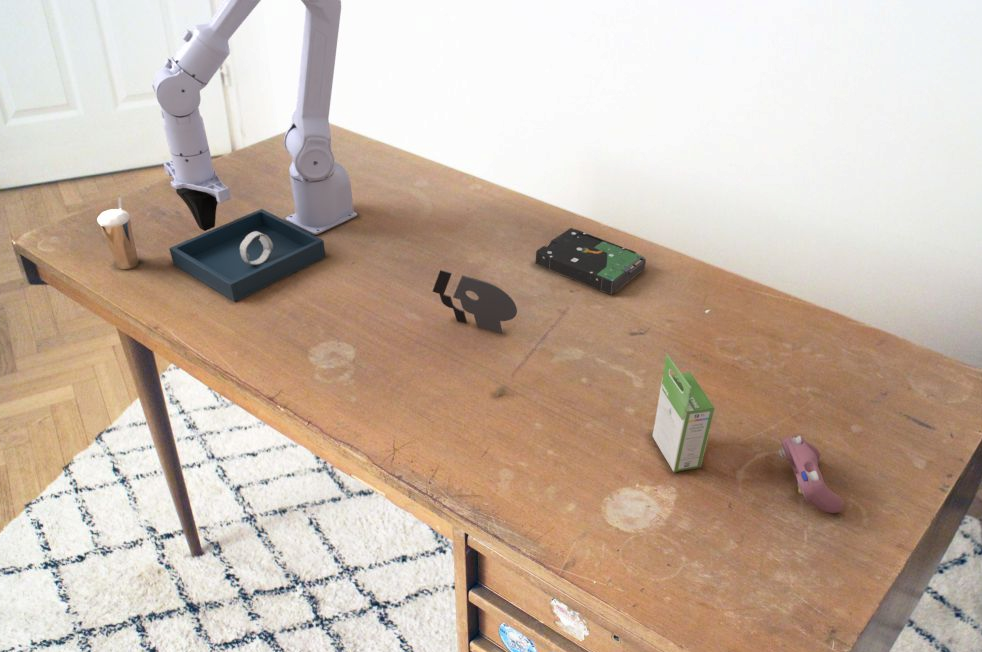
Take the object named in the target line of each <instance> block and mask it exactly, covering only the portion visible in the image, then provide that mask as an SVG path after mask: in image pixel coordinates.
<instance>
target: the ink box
mask: <svg viewBox="0 0 982 652" xmlns="http://www.w3.org/2000/svg"><path fill="white" fill-rule="evenodd" d="M671 372H673V373H674V374H671ZM715 410H716V407H715V405H714V404H713V403H712V401H711V400H710V399H709V397H708V396H707V394H706V393H705V391H704V389H703V388H702V387H701V386H700V383H699V382H698V380H696V378H695V376H694V375H693V373H692V372H691V371H690V372H689V371H688V372H681V371H680V370H679V368H678V367H677V365H676V364H675V363H674V361H673V359H672V358H671V357H670V356H669V354H668V353H665V358H664V365H663V372H662V378H661V383H660V390H659V394H658V402H657V407H656V414H655V419H654V426H653V431H652V439H653V440H654V441H655V443H656V445H657V446H658V448H659V451H660V452H661V454H662V455H663V457H664V458H665V460H666V462H667V463H668V465H669V467H670V469H671V470H672V472H673V473H677V472H681V471H686V470H695V469H699V468H702V464H703V462H704V461H703V459H704V455H705V452H706V447H707V444H708V439H709V435H710V431H711V426H712V422H713V418H714V414H715Z"/></svg>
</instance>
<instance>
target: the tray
mask: <svg viewBox="0 0 982 652" xmlns="http://www.w3.org/2000/svg"><path fill="white" fill-rule="evenodd" d="M255 231H258V232H260V233H262V234H264V235H267V236H268V237H269V238H270V239H271V241H272V243H273V249H272V252H270V253H269V254H270V255H269V257H268V259H267V260H266V261H265V262H264V263H262V264H260V265H251V264H249V263H246V262H244V261H243V259H242V257H241V254H240V245H241V243H242V241H243V240H244V239H245V237H246V236H247V235H248V234H250V233H252V232H255ZM259 239H260V235H259V236H257V237H255V238H254V239H253V240H252V241H251V243H250V244H249V245H248V247H247V254H248V255H249V259H248V260H249V261H255V260H257V259H258V258H260V256H261V255H262V253H263V251H264V250H263V245H262V243H261V241H259ZM324 241H325V240H323V239H322V238H320V237H318V236H317V235H314V234H312V233H310V232H308V231H306V230H304V229H302V228H300V227H298V226H296V225H294V224H292V223H290V222H288V221H286V219H283V218H281V217H279V216H278V215H275V214H273V213H272V212H270V211H267V210H265V209H264V208H260V209H258V210H255V211H253V212H250V213H247V214H246V215H244V216H241V217H239V218H236V219H234V220H231V221H230V222H227V223H225V224H222V225H220V226H218V227H216V228H215V227H214V228H212V229H210V230H207V231H205V232H203V233H201V234H199V235H196V236H194V237H192V238H189V239H187V240H185V241H183V242H179V243H178V244H176V245H173V246H171V247H169V253H170V256H171V257H170V258H171V260H172V265H173V266H174V267H176V268H178V269H179V270H181V271H182V272H184V273H186V274H187V275H189V276H190V277H193V278H194V279H196V280H197V281H199V282H200V283H202V284H205V286H207V287H209V288H211V289H212V290H214V291H215V292H217V293H218V294H220V295H222V296H224V297H225V298H227V299H229V300H230V301H232V302H234V303H236V302H237V301H241V300H242V299H244V298H246V297H248V296H250V295H252V294H254V293H256V292H258V291H260V290H262V289H264V288H266V287H268V286H270V285H272V284H274V283H276V282H278V281H280V280H282V279H284V278H286V277H288V276H290V275H292V274H295V273H297V272H299V271H300V270H303V269H304V268H307V267H309V266H310V265H312V264H315V263H316V262H319V261H321V260H323V259H325V258H327V255H326V249H325V248H326V247H325V242H324ZM265 249H266V248H265Z"/></svg>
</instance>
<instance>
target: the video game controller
mask: <svg viewBox="0 0 982 652" xmlns="http://www.w3.org/2000/svg"><path fill="white" fill-rule="evenodd" d="M780 441H781V447H782V448H781V449H779V450H778V454H779V457H780V458H781V459H782V460H784V459H786V460H787V461H789V464H790V466H791V469H792V470H793V474H794V476H795V479H796V480H797V486H798V488H797V491H798V494H799V495H801V496H802V495H803V498H804V500H805V501H806V502H807V503H809V504H811V505H812V506H813V507H815V508H816V509H818V510H820V511H821V512H825V513H830V514H837V513H839V512H840V511H842V510H843V508H844V501H843V499H842V498H841V497H840V496H839V495H837V494H836V493H834V492H833V491H832V490H831V489H829V488H828V487H827V485H826V483H825V481H824V477H823V474H822V472H821V470H820V468H819V460H820V458H821V452H820V450H819V449H818V447H816V446H814V445H813V444H811V443H809V442H808V441H807V440H806V439H805V438H804V437H803V436H802V435H790V436H786V437H784V438H781V439H780Z"/></svg>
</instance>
